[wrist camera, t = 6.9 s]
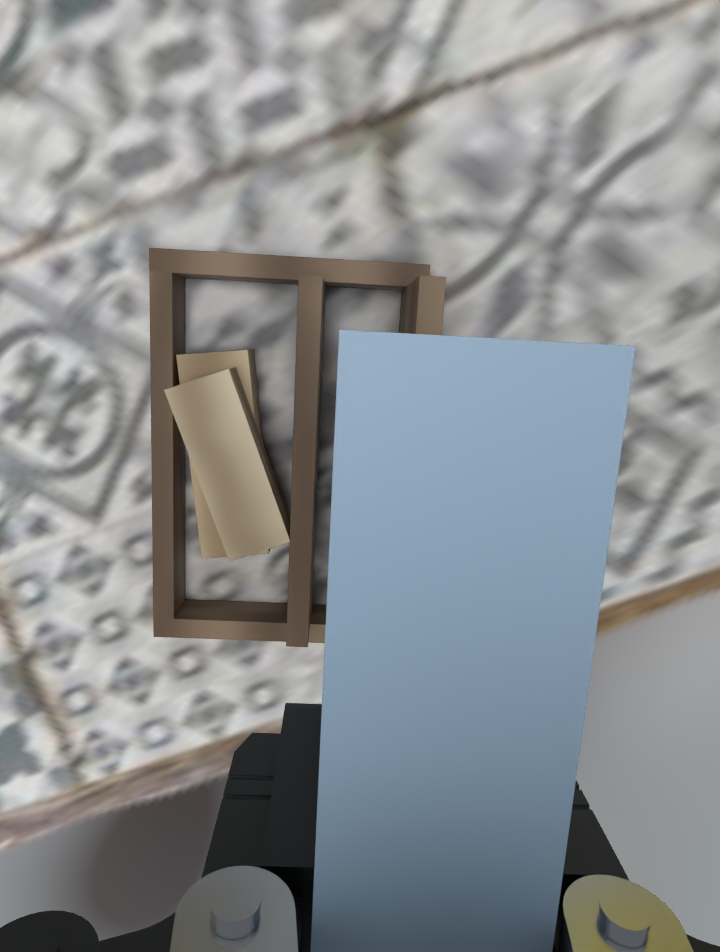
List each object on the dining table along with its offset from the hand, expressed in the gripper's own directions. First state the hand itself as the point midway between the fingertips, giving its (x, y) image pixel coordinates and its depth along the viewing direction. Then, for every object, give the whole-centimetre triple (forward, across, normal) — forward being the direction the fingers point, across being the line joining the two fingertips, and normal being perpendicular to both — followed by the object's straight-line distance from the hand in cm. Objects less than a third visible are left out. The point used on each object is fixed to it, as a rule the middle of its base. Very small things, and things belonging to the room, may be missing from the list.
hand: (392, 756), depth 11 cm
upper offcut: (+27, +7, 0) cm, 28 cm away
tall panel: (+12, 0, 0) cm, 12 cm away
